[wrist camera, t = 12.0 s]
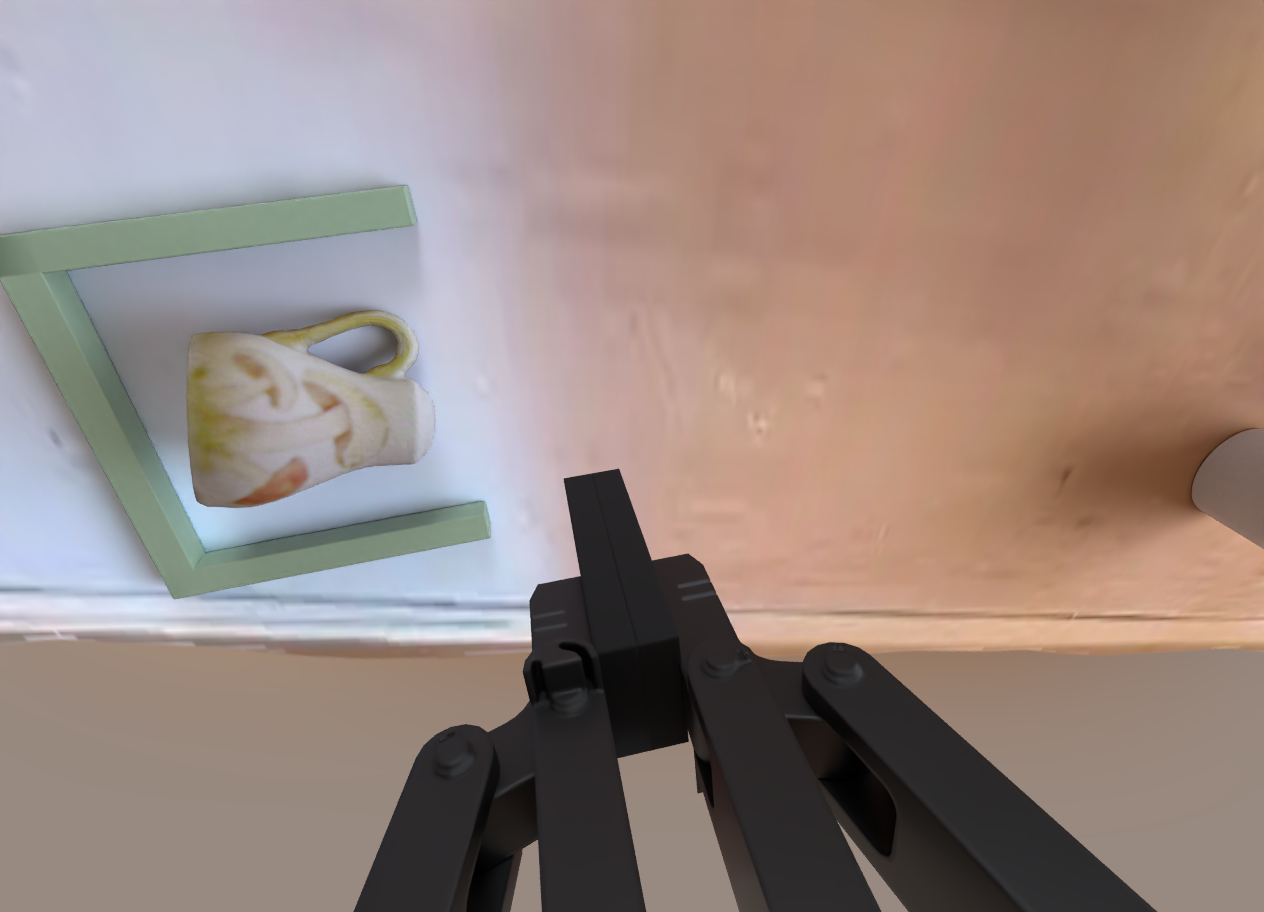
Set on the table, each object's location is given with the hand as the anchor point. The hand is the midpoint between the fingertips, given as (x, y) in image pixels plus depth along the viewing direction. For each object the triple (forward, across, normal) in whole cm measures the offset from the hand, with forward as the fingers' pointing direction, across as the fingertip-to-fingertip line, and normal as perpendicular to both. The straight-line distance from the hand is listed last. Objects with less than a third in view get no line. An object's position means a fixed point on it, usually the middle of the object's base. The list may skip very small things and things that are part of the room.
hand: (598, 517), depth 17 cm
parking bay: (+15, -12, 0) cm, 19 cm away
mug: (+16, -11, 0) cm, 19 cm away
